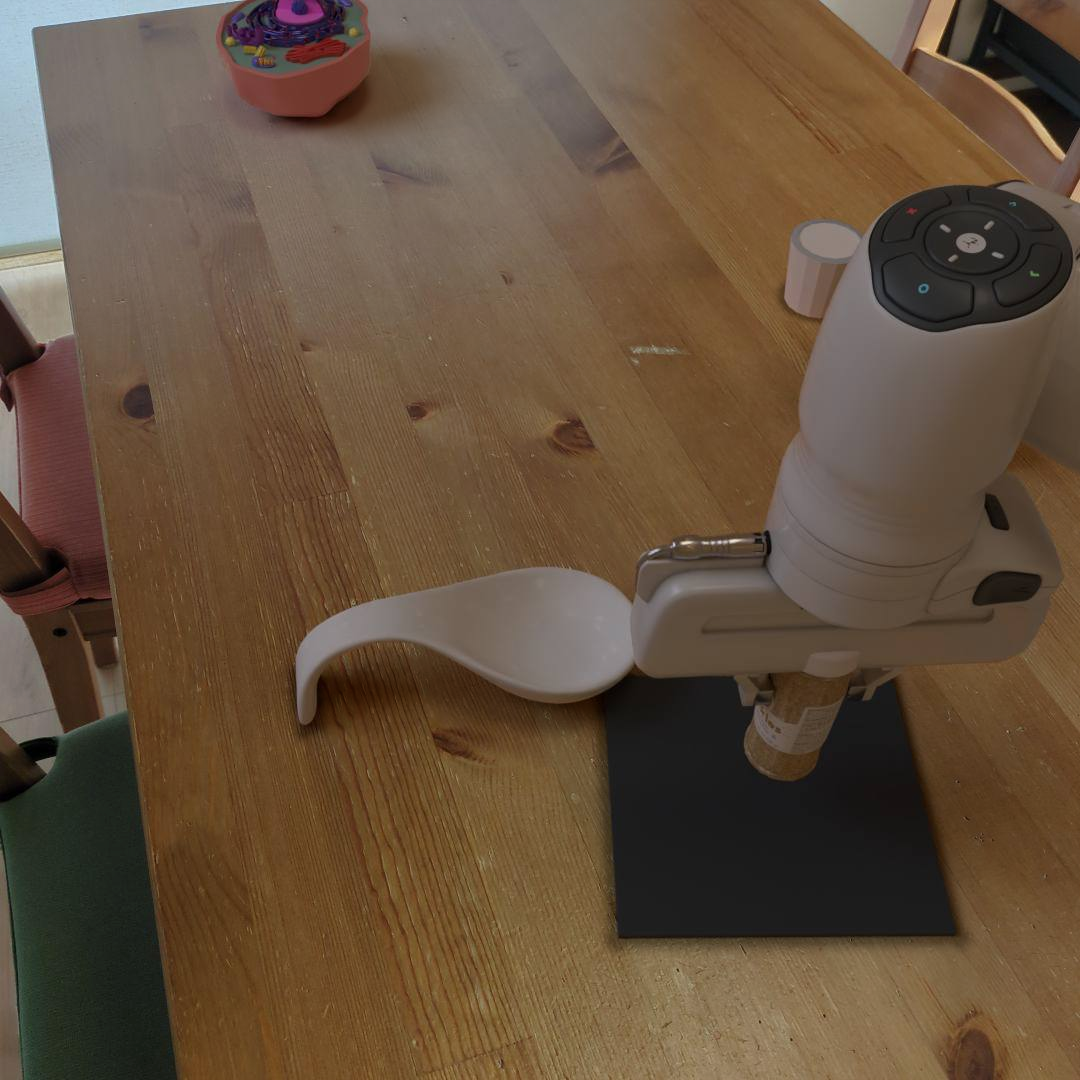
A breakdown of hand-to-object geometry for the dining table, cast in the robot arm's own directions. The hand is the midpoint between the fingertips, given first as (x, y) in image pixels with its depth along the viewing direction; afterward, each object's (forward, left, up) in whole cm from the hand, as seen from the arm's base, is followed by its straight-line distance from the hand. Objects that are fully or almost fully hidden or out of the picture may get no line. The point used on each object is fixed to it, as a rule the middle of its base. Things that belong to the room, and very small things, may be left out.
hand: (803, 692), depth 62 cm
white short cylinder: (-12, -51, -13) cm, 54 cm away
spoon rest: (+19, -9, -12) cm, 24 cm away
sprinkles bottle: (0, 0, -7) cm, 7 cm away
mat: (0, 0, -13) cm, 13 cm away
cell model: (+40, -87, -13) cm, 96 cm away
